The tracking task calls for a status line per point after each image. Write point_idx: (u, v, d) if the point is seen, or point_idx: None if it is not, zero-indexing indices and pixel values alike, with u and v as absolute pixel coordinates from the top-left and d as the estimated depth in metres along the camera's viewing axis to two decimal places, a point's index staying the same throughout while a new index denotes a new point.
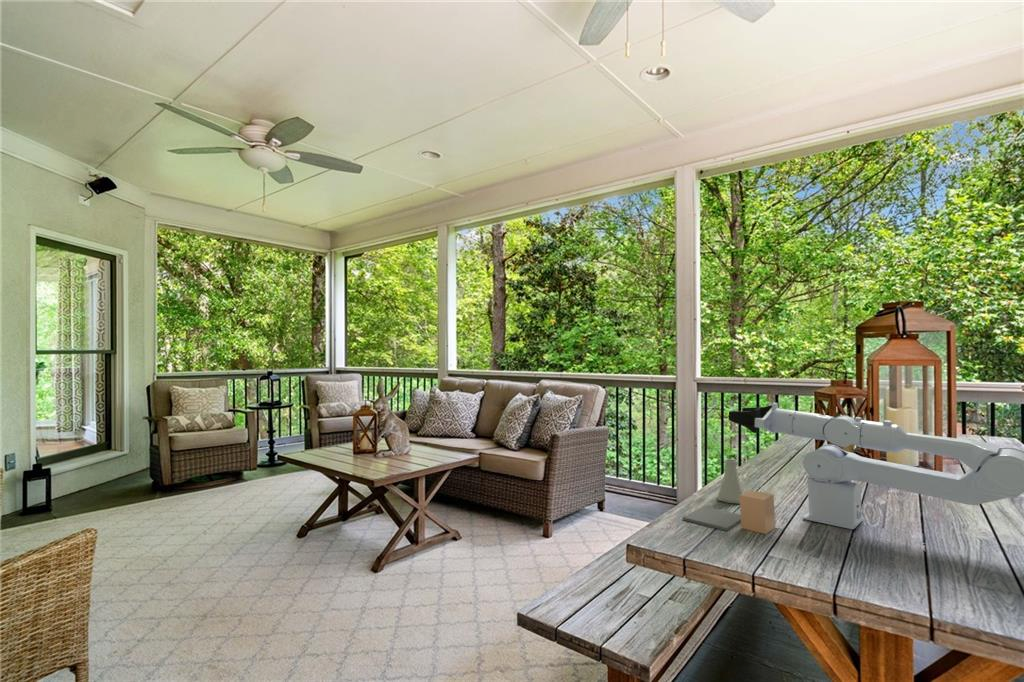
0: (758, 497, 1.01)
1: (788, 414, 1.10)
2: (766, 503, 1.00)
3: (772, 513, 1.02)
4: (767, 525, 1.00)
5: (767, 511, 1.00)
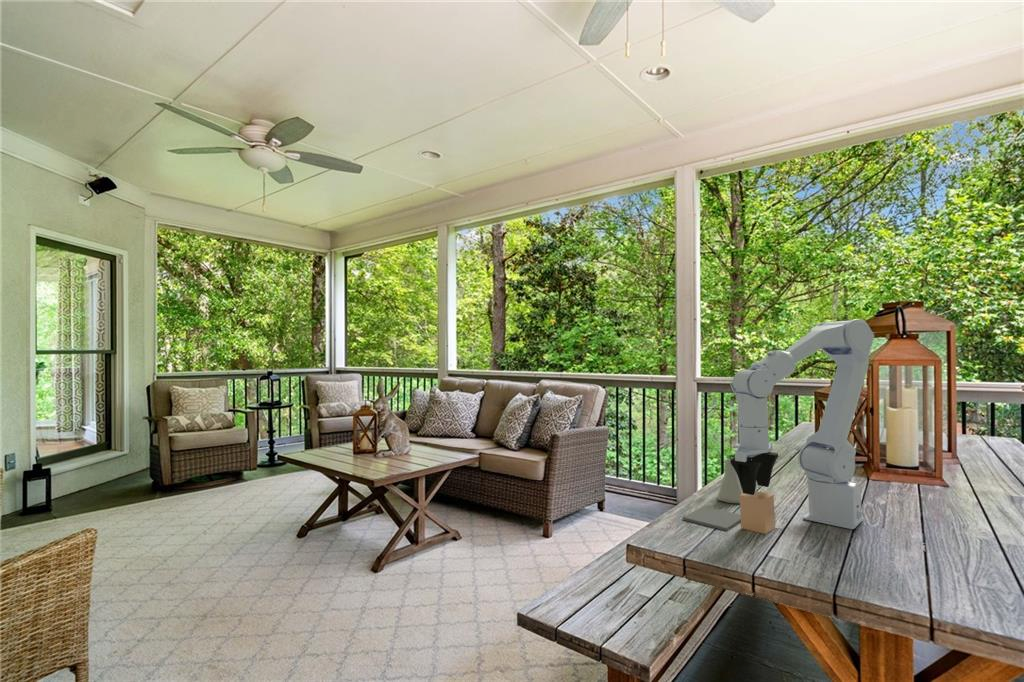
0: (758, 497, 1.01)
1: (739, 431, 1.03)
2: (766, 503, 1.00)
3: (772, 513, 1.02)
4: (767, 525, 1.00)
5: (767, 511, 1.00)
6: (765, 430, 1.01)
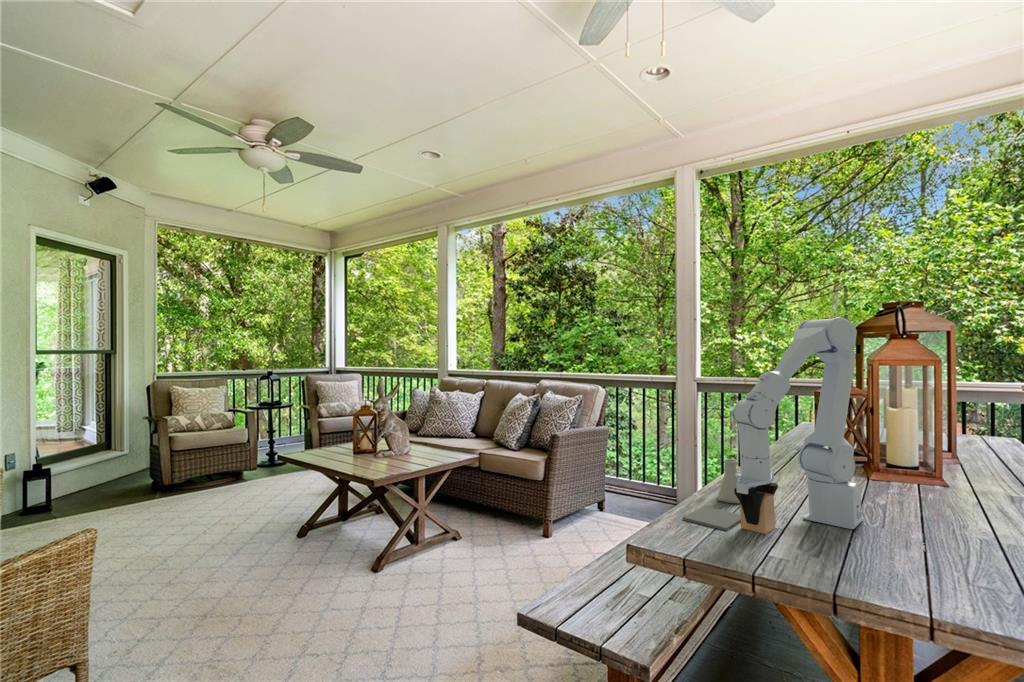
0: None
1: (741, 461, 1.03)
2: (766, 503, 1.00)
3: (772, 513, 1.02)
4: (767, 525, 1.00)
5: (767, 511, 1.00)
6: (767, 461, 1.00)
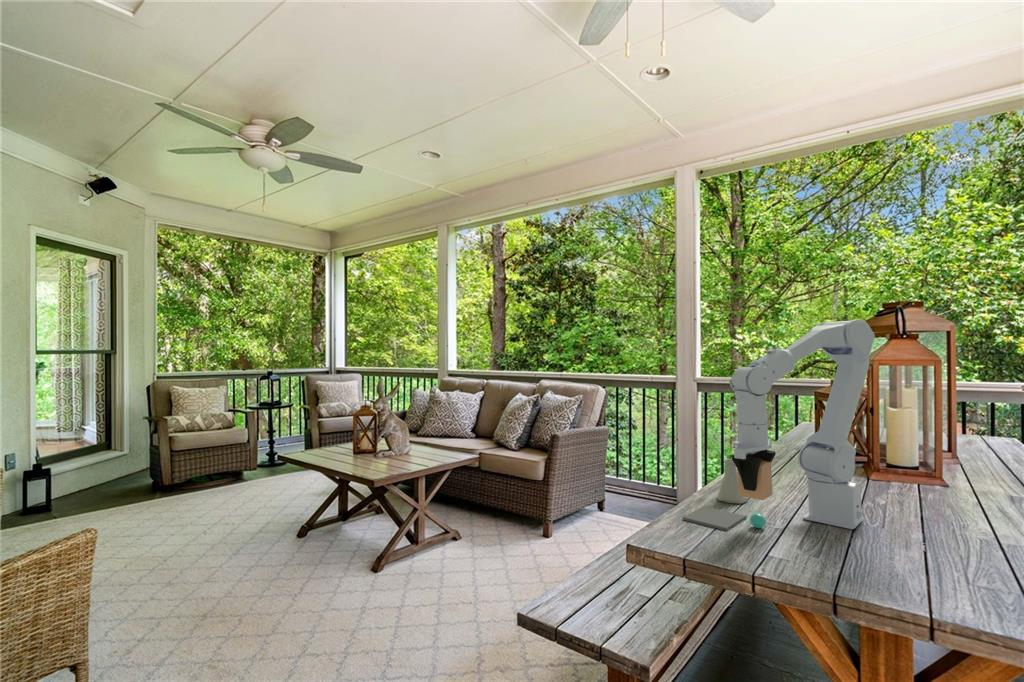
0: None
1: (738, 428, 1.03)
2: (763, 469, 1.00)
3: (769, 480, 1.02)
4: (765, 492, 1.00)
5: (764, 478, 1.00)
6: (764, 427, 1.01)
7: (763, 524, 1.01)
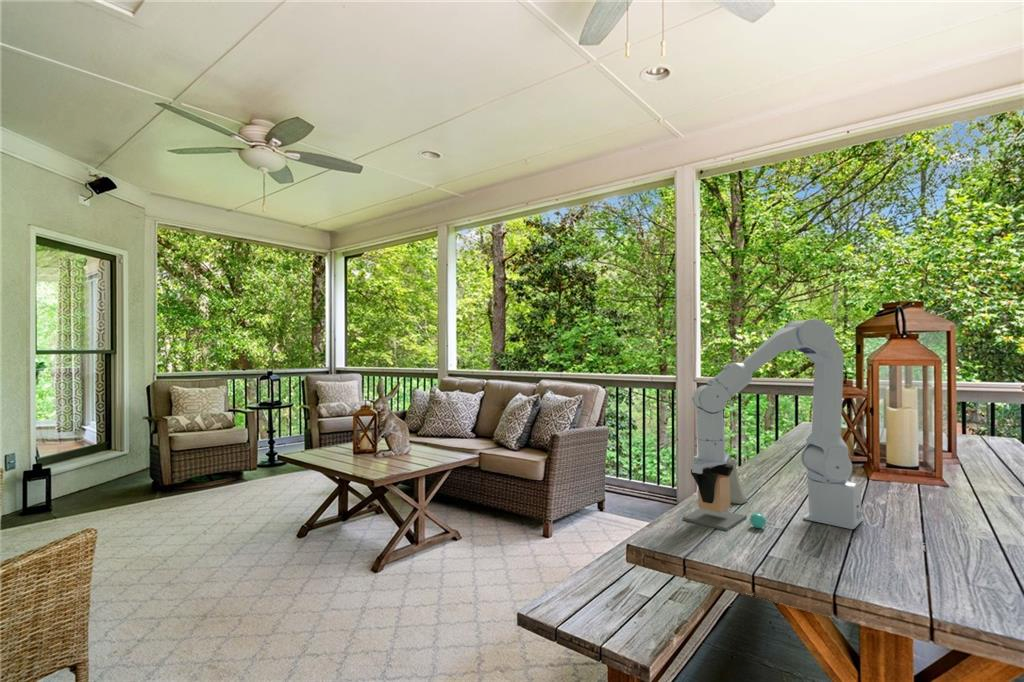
0: None
1: (698, 443, 1.09)
2: (721, 484, 1.06)
3: (728, 494, 1.08)
4: (722, 505, 1.06)
5: (722, 492, 1.06)
6: (721, 443, 1.07)
7: (763, 524, 1.01)
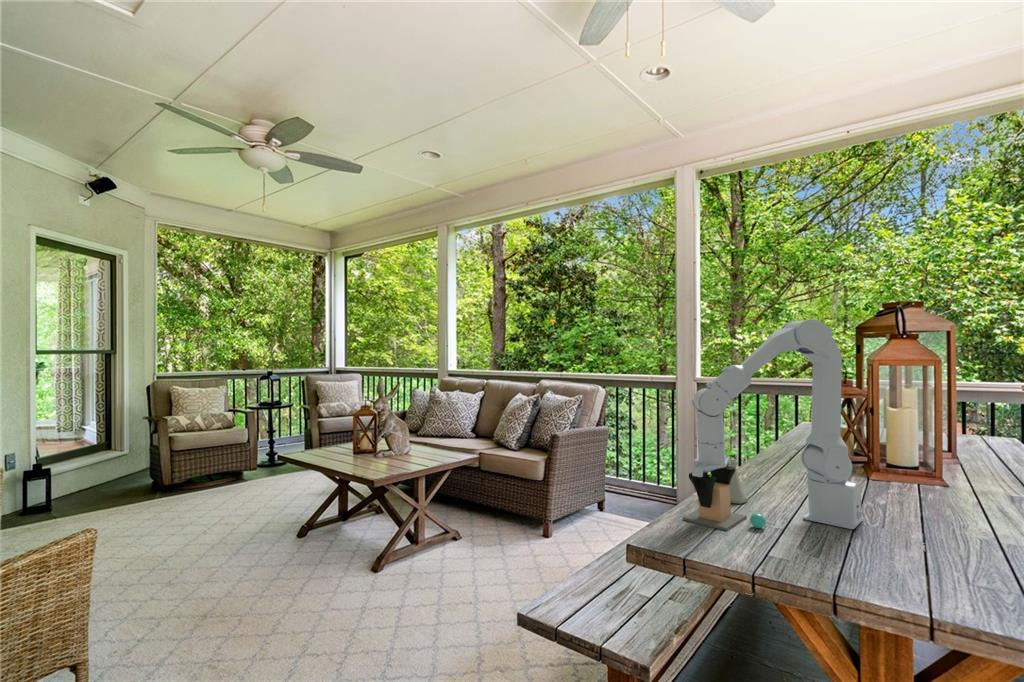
0: (714, 487, 1.07)
1: (698, 447, 1.09)
2: (721, 493, 1.06)
3: (728, 502, 1.08)
4: (723, 514, 1.06)
5: (722, 500, 1.06)
6: (721, 446, 1.06)
7: (763, 524, 1.01)
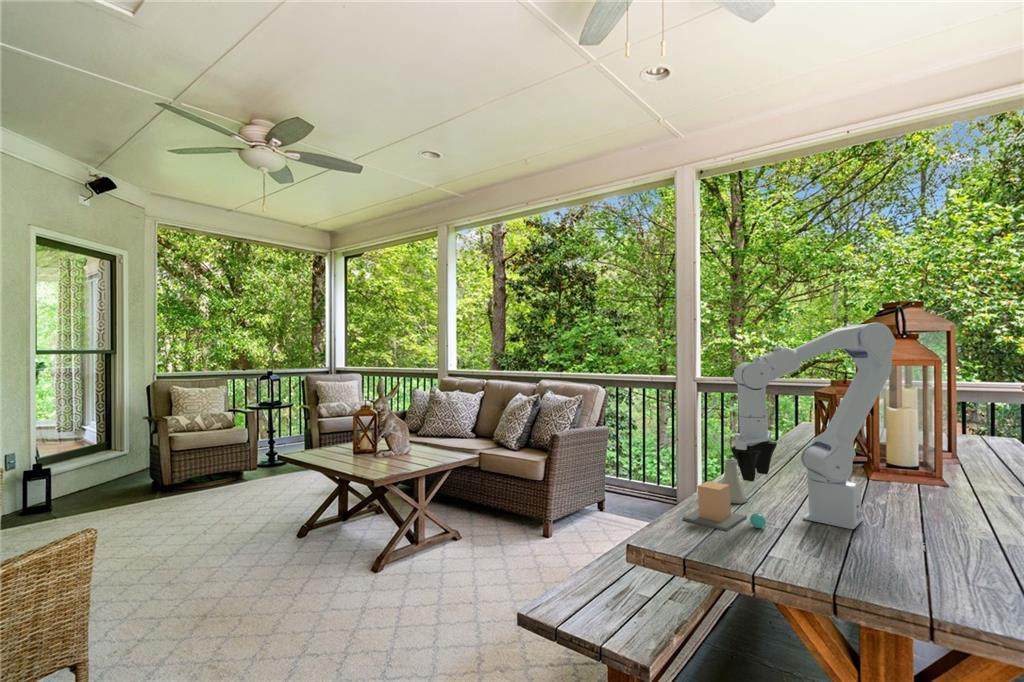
0: (714, 487, 1.07)
1: (739, 421, 1.08)
2: (721, 493, 1.06)
3: (728, 502, 1.08)
4: (723, 514, 1.06)
5: (722, 500, 1.06)
6: (764, 420, 1.05)
7: (763, 524, 1.01)
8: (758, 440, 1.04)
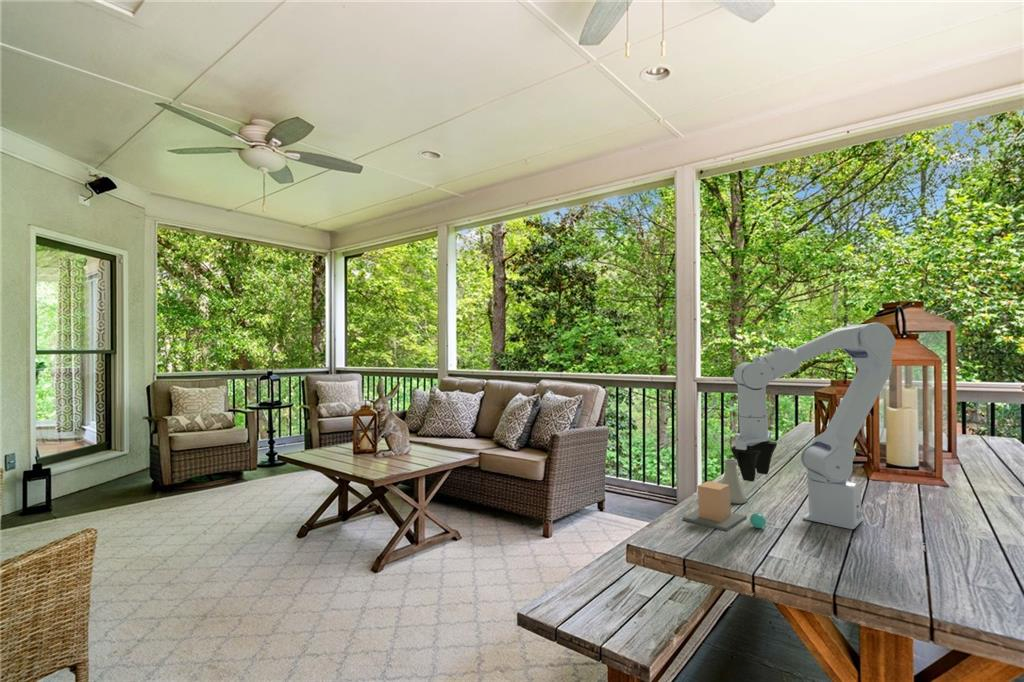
0: (714, 487, 1.07)
1: (739, 421, 1.08)
2: (721, 493, 1.06)
3: (728, 502, 1.08)
4: (723, 514, 1.06)
5: (722, 500, 1.06)
6: (764, 420, 1.05)
7: (763, 524, 1.01)
8: (758, 440, 1.04)
